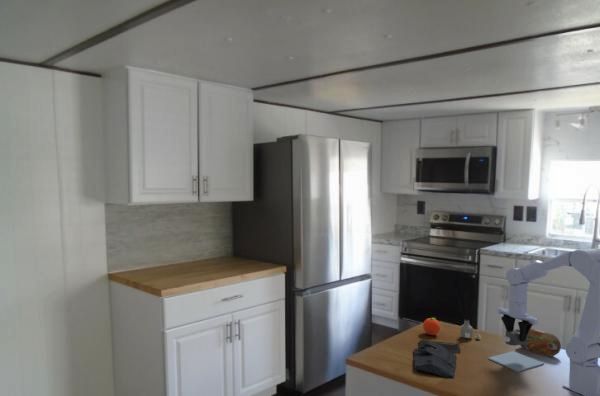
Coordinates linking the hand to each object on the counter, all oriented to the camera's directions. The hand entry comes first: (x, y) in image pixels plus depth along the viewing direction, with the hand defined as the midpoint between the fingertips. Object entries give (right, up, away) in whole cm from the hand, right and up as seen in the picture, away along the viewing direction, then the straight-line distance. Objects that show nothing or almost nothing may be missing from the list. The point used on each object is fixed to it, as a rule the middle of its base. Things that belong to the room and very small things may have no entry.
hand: (516, 338), depth 154 cm
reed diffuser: (-8, -8, +24) cm, 27 cm away
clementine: (-22, -7, +27) cm, 36 cm away
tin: (+13, -9, +9) cm, 18 cm away
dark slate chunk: (-30, -9, -2) cm, 32 cm away
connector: (0, -1, 0) cm, 1 cm away
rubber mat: (0, -8, 0) cm, 8 cm away
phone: (-24, -8, +13) cm, 28 cm away
